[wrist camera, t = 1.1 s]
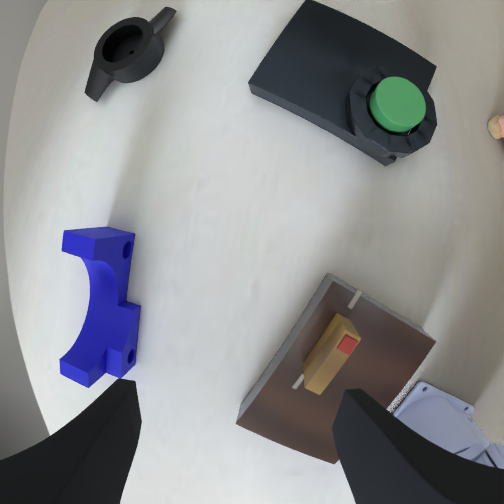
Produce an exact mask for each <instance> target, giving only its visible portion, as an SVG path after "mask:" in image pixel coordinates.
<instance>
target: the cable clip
mask: <svg viewBox="0 0 504 504" xmlns="http://www.w3.org/2000/svg"><path fill="white" fill-rule="evenodd" d="M134 238H135V234H134V233H130V232H126V231H122V230H118V229H114V228H109V227H97V228H86V229H74V230H64V233H63V242H62V251H63V252H66V253H69V254H72V255H75V256H78V257H81V259H82V260H83V261H84V263H85V265H86V268H87V270H88V274H89V280H90V299H89V306H88V311H87V315H86V319H85V322H84V325H83V328H82V330H81V332H80V334H79V336H78V338H77V340H76V342H75V343H74V345H73V346H72V347H71V349H70V350H69V351H68V352H67V353H66V354H65V355H64V356H63V357H62V358H60V374H62V375H64V376H65V377H67V378H69V379H71V380H73V381H75V382H77V383H79V384H81V385H83V386H85V387H87V388H89V387H90V386H91V385H93V384H94V383H95V382H96V381H97V380H98V379H99V378H101V377H102V376H103V375H104V374H105V373H108V374H111V375H113V376H115V377H118V378H120V379H121V378H122V377H123V376H124V375H125V374H126V373H127V372H128V371H129V370H130V369H131V368H132V367H133V366H134V365H135V362H136V349H137V337H138V327H139V318H140V309H141V306H139V305H136V304H133V303H130V302H127V301H126V297H127V288H128V280H129V272H130V264H131V257H132V251H133V244H134Z"/></svg>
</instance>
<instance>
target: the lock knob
mask: <svg viewBox="0 0 504 504" xmlns="http://www.w3.org/2000/svg"><path fill="white" fill-rule="evenodd" d="M360 340H361V337H360V336H359V334H358V332H357V331H356V329H355V327H354V325H353V324H352V322H351V320H349V319H348V318H346V317H344V316H342V315H340V314H339V313H336V315H335V316H334V318H333V319H332V321H331V322H330V324H329V325H328V327H327V328H326V330H325V331H324V333H323V334H322V336H321V337H320V339H319V340H318V342H317V343H316V345H315V346H314V348H313V349H312V351H311V352H310V354H309V355H308V356H307V358H306V359H305V361H304V362H303V374H304V386H305V388H306V389H308V390H310V391H313V392H315V393H317V394H319V395H320V394H321V393H322V392H323V391H324V389H325V388H326V387H327V386H328V384H329V383H330V382H331V380H332V379H333V378H334V376H335V375H336V374H337V372H338V371H339V370H340V368H341V367H342V366H343V364H344V363H345V361H346V360H347V359H348V357H349V356H350V354H351V353H352V352H353V350H354V349H355V347H356V346H357V344H358V343H359V342H360Z"/></svg>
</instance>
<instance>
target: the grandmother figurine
mask: <svg viewBox="0 0 504 504" xmlns="http://www.w3.org/2000/svg"><path fill="white" fill-rule="evenodd" d="M488 130H489V132H490V133H491V135H492V136H493V137H494V138H495V139H501V138H502V137H504V115H501V116H500V115H495V116H494V117H493V118H492V119H490V120H489V122H488Z"/></svg>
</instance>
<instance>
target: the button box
mask: <svg viewBox="0 0 504 504" xmlns="http://www.w3.org/2000/svg"><path fill="white" fill-rule="evenodd" d="M436 68H437V67H436V66H435V65H434V64H432V63H431V62H429V61H428V60H426V59H425V58H423V57H422V56H420V55H419V54H417V53H416V52H414V51H412V50H411V49H409V48H408V47H406V46H404V45H403V44H401V43H399V42H398V41H396V40H394V39H393V38H391V37H389V36H387V35H385V34H384V33H382V32H380V31H378V30H376V29H374V28H373V27H371V26H369V25H367V24H365V23H363V22H361V21H359V20H357V19H355V18H352V17H350V16H348V15H346V14H344V13H342V12H339V11H337V10H335V9H333V8H330V7H328V6H326V5H323V4H321V3H318V2H316V1H313V0H305V2H304V3H303V4H302V6H301V7H300V8H299V10H298V11H297V12H296V14H295V15H294V16H293V18H292V19H291V20H290V22H289V23H288V24H287V26H286V27H285V29H284V30H283V31H282V33H281V34H280V36H279V37H278V38H277V40H276V41H275V43H274V44H273V46H272V47H271V49H270V50H269V51H268V53H267V54H266V56H265V57H264V59H263V60H262V62H261V63H260V65H259V66H258V68H257V69H256V71H255V72H254V74H253V75H252V77H251V79H250V80H249V82H248V84H249V87H250V90H251V93H252V94H255V95H257V96H259V97H261V98H263V99H266V100H268V101H270V102H272V103H274V104H276V105H278V106H280V107H282V108H284V109H286V110H288V111H290V112H292V113H294V114H296V115H298V116H300V117H302V118H304V119H306V120H308V121H310V122H312V123H314V124H315V125H317V126H319V127H321V128H323V129H325V130H326V131H328V132H330V133H332V134H334V135H335V136H337V137H339V138H341V139H342V140H344V141H346V142H347V143H349V144H351V145H353V146H354V147H356V148H358V149H359V150H361V151H362V152H364V153H366V154H367V155H369V156H371V157H372V158H374V159H375V160H377V161H378V162H380V163H382V164H383V165H385V166H387V165H389V164H391V163H393V162H395V160H396V158H397V157H399V158H403V157H405V156H407V155H409V154H411V153H413V152H415V151H417V150H418V149H420V148H422V147H424V146H425V145H427V144H428V143H430V140H431V138H432V136H433V133H434V131H435V128H436V126H437V119H436V112H435V106H434V101H433V99H432V98H431V96H430V95H429V93H428V92H427V90H428V87H429V85H430V82H431V80H432V78H433V75H434V73H435V70H436ZM388 77H401V78H404V79H407V80H408V81H410V82H412V83H413V84H414V85H415V86H416V87H417V88H418V89H419V90H420V92H421V93H422V95H423V97H424V100H425V104H426V112H425V116H424V118H423V119H422V121H421V122H420V123H418V124H417V125H416V126H414V127H413V128H412V129H411V131H410V130H408V131H406V132H403V133H395V132H391V131H388V130H386V129H385V128H383V127H382V126H380V125H379V124H378V123H377V121H376V120H375V119H374V117H373V115H372V113H371V110H370V97H371V95H372V93H373V92H374V90H375V89H376V87H377V86H378V84H379V83H380V82H381V81H382V80H384V79H385V78H388ZM409 131H410V133H409ZM408 133H409V134H408Z"/></svg>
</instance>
